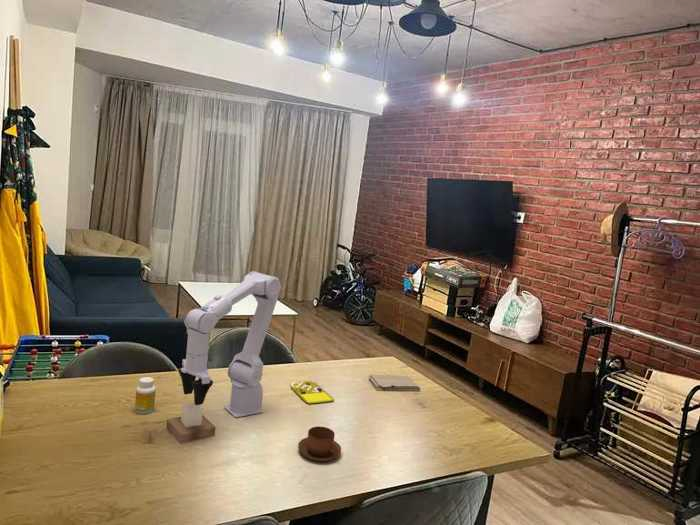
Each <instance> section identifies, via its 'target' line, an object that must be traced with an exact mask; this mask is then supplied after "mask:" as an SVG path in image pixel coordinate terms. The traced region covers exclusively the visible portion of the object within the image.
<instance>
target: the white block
mask: <svg viewBox="0 0 700 525" xmlns="http://www.w3.org/2000/svg"><path fill="white" fill-rule="evenodd" d="M201 405H202V404H201ZM201 405H195V402H194V401H193V402H188V403H182V404H181V415H180V417H181V421H182V423H183V424H184V426H185V427H192V426H198V425H201V424H202V415H203V410H204V409H203V407H202V406H201Z"/></svg>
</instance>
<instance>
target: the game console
mask: <svg viewBox="0 0 700 525" xmlns="http://www.w3.org/2000/svg"><path fill="white" fill-rule="evenodd" d="M289 386H290V387H291V388H290V387H289V388H290V390H292V391H293V393H295V395H297V397H298V398H300V400H302V402H303V403H305V404H306V405H308V406H312V405H322V404H329V403H334V402H335V399H334V398H333V397H332V396H331V394H329V393H328V392H327V391H326V390H324V388H322V386H320V385H319V384H318V383H317V382H316V381H313V380H312V381H311V380H309V381H294V382H292V383H290V385H289Z"/></svg>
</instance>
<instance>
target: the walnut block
mask: <svg viewBox="0 0 700 525" xmlns="http://www.w3.org/2000/svg"><path fill="white" fill-rule="evenodd" d="M166 429H167V430H168V431H169V433H170V434H171V435H172V436H173V437H174V439H176V441H177V442H178V443H179V444H181V445H182V444H183V443H190V442H193V441H198V440H201V439H206V438H209V437H215V435H216V426H215V425H214V424H213V423H212V422H211V421H210V420H209V419H208V418H207V417H205V415H204V414H202V424H201V425H198V426H192V427H185V426H184V424H183V423H182V421H181V416H177V417H173V418H168V419H166Z"/></svg>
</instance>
